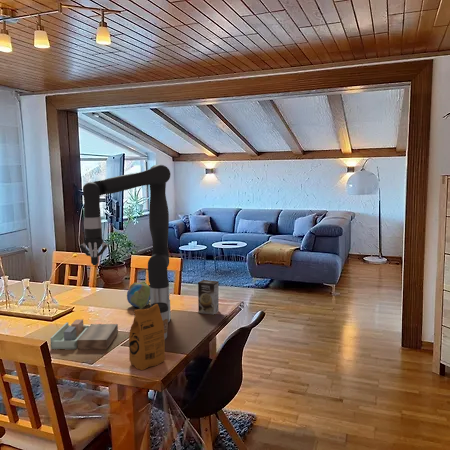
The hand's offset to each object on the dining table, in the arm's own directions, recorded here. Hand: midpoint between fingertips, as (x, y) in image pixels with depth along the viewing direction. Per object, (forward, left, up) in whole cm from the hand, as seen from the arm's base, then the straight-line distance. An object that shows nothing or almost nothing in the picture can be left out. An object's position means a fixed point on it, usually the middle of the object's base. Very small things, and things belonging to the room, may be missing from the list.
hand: (94, 264), depth 195 cm
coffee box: (-50, -22, -31) cm, 63 cm away
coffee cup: (-30, +12, -31) cm, 45 cm away
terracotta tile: (+5, +9, -27) cm, 28 cm away
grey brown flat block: (-4, +14, -30) cm, 34 cm away
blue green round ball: (-14, -32, -31) cm, 47 cm away
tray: (+8, +14, -30) cm, 34 cm away
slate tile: (+5, +18, -27) cm, 32 cm away
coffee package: (-29, +36, -31) cm, 55 cm away
